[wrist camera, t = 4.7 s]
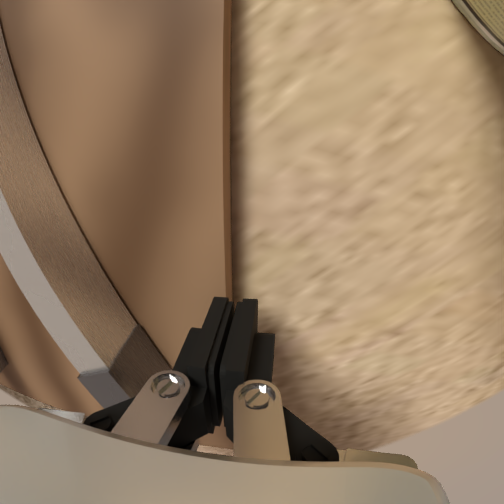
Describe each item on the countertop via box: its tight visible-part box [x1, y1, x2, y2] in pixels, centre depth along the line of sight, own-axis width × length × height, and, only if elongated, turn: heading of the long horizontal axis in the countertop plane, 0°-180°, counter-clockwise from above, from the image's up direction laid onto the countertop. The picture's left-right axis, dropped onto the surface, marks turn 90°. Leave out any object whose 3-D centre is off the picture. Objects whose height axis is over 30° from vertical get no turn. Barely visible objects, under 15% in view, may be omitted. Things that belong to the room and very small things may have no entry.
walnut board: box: [0, 0, 234, 449], centre depth 12 cm, size 21×34×2 cm, turn 179°
